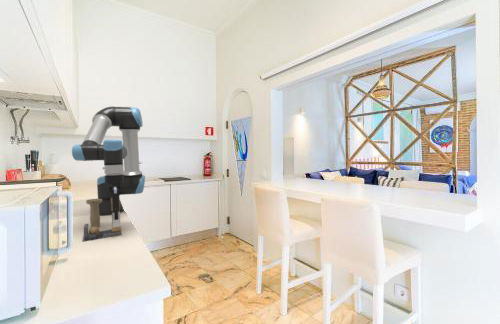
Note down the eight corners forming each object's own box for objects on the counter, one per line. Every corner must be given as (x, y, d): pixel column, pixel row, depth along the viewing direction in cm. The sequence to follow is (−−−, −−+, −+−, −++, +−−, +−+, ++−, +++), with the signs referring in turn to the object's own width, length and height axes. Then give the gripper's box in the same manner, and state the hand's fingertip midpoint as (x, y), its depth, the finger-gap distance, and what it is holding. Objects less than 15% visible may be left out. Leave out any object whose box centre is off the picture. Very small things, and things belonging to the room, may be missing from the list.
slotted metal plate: (84, 237, 110) (83, 222, 110) (120, 231, 117) (120, 217, 117) (82, 245, 101) (81, 229, 100) (122, 238, 108) (121, 223, 108)
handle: (102, 231, 118) (101, 200, 117) (86, 233, 115) (85, 201, 114) (104, 228, 122) (102, 198, 121) (88, 230, 120) (87, 199, 119)
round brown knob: (91, 234, 109) (91, 225, 109) (101, 233, 110) (101, 225, 109) (87, 237, 105) (86, 228, 105) (97, 237, 106) (97, 227, 105)
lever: (111, 231, 112) (110, 197, 111) (120, 229, 114) (119, 196, 113) (112, 233, 109) (110, 199, 108) (121, 232, 111) (119, 198, 110)
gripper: (104, 172, 117) (106, 219, 119) (104, 177, 99) (106, 232, 100) (122, 171, 121) (123, 216, 122) (125, 175, 103) (127, 228, 104)
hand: (116, 223), depth 111 cm, fingers open, 9 cm apart
